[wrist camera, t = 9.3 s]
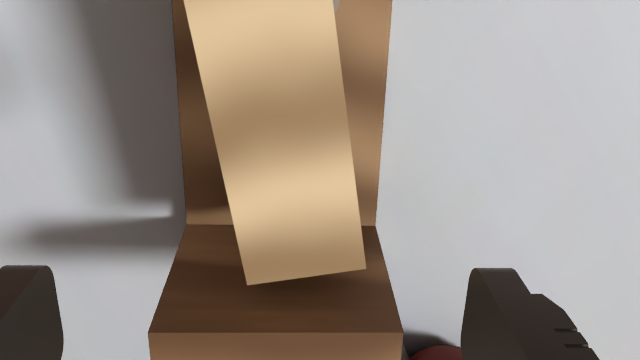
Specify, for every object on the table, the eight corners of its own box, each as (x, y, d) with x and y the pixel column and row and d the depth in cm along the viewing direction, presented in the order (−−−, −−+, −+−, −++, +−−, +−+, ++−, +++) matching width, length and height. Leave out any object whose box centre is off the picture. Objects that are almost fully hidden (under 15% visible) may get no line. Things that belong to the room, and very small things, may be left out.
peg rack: (370, 248, 33) (399, 372, 24) (191, 247, 33) (152, 373, 24) (400, -157, 25) (460, -201, 16) (165, -166, 25) (89, -216, 16)
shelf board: (186, -78, 23) (165, -79, 19) (316, -98, 23) (320, -102, 19) (253, 238, 28) (247, 285, 25) (356, 223, 28) (366, 268, 25)
